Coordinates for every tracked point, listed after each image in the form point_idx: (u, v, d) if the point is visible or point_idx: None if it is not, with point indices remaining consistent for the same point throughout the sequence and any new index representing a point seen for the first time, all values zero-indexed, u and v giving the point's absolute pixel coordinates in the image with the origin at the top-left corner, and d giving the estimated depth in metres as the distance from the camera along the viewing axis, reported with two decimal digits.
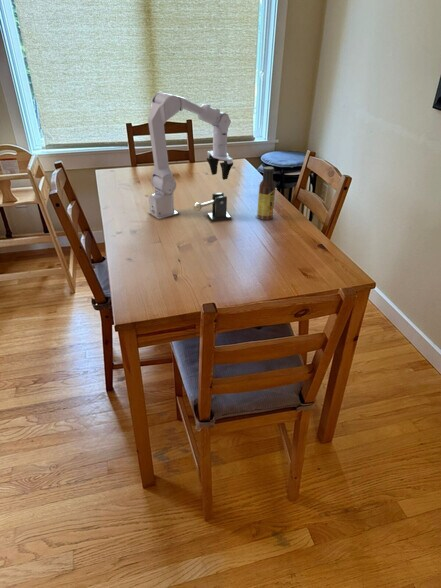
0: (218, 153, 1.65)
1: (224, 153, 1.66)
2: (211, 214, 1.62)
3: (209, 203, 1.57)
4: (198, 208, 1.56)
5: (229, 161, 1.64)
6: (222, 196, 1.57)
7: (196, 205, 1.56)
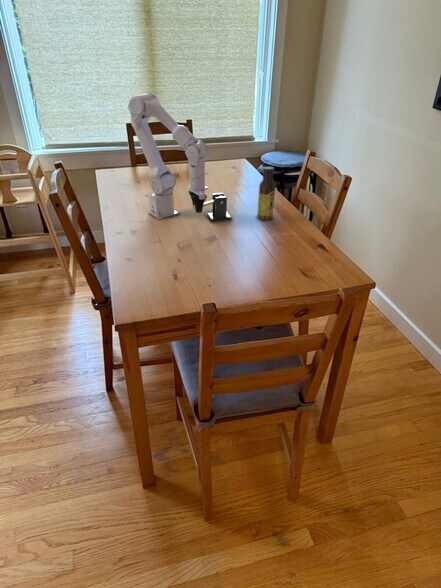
0: (192, 186, 1.50)
1: (199, 187, 1.50)
2: (211, 214, 1.62)
3: (209, 203, 1.57)
4: None
5: (200, 196, 1.47)
6: (222, 196, 1.57)
7: None
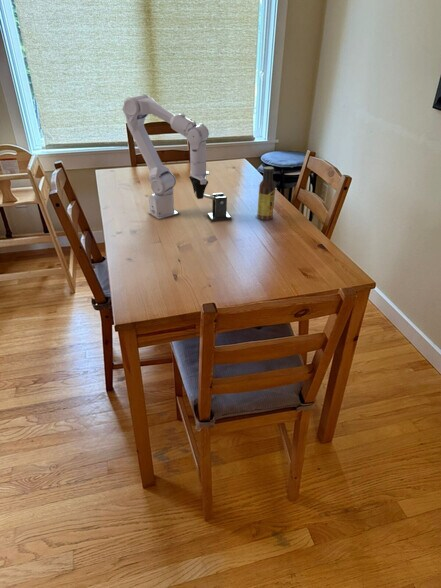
0: (193, 171, 1.47)
1: (200, 172, 1.47)
2: (211, 214, 1.62)
3: (210, 197, 1.56)
4: None
5: (202, 181, 1.44)
6: None
7: None
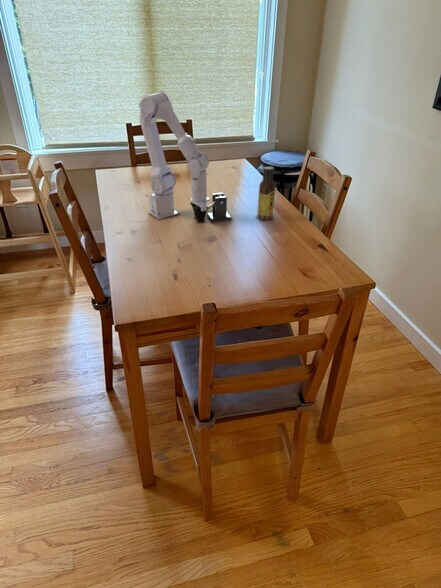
0: (194, 198, 1.53)
1: (201, 199, 1.53)
2: (211, 214, 1.62)
3: (210, 206, 1.58)
4: None
5: (202, 208, 1.50)
6: None
7: None
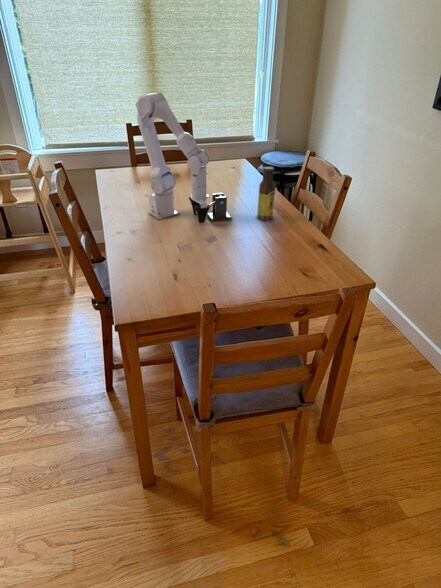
0: (194, 194, 1.52)
1: (201, 196, 1.52)
2: (211, 214, 1.62)
3: (210, 205, 1.58)
4: None
5: (202, 205, 1.49)
6: (221, 196, 1.57)
7: None
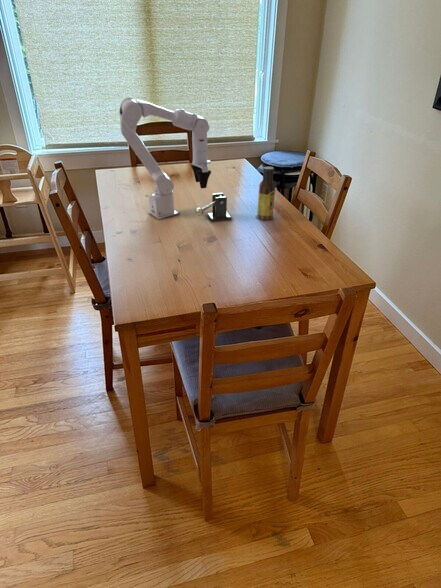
0: (195, 159, 1.56)
1: (202, 160, 1.56)
2: (211, 214, 1.62)
3: (210, 205, 1.58)
4: (200, 213, 1.57)
5: (203, 169, 1.53)
6: (221, 196, 1.57)
7: (197, 210, 1.57)
